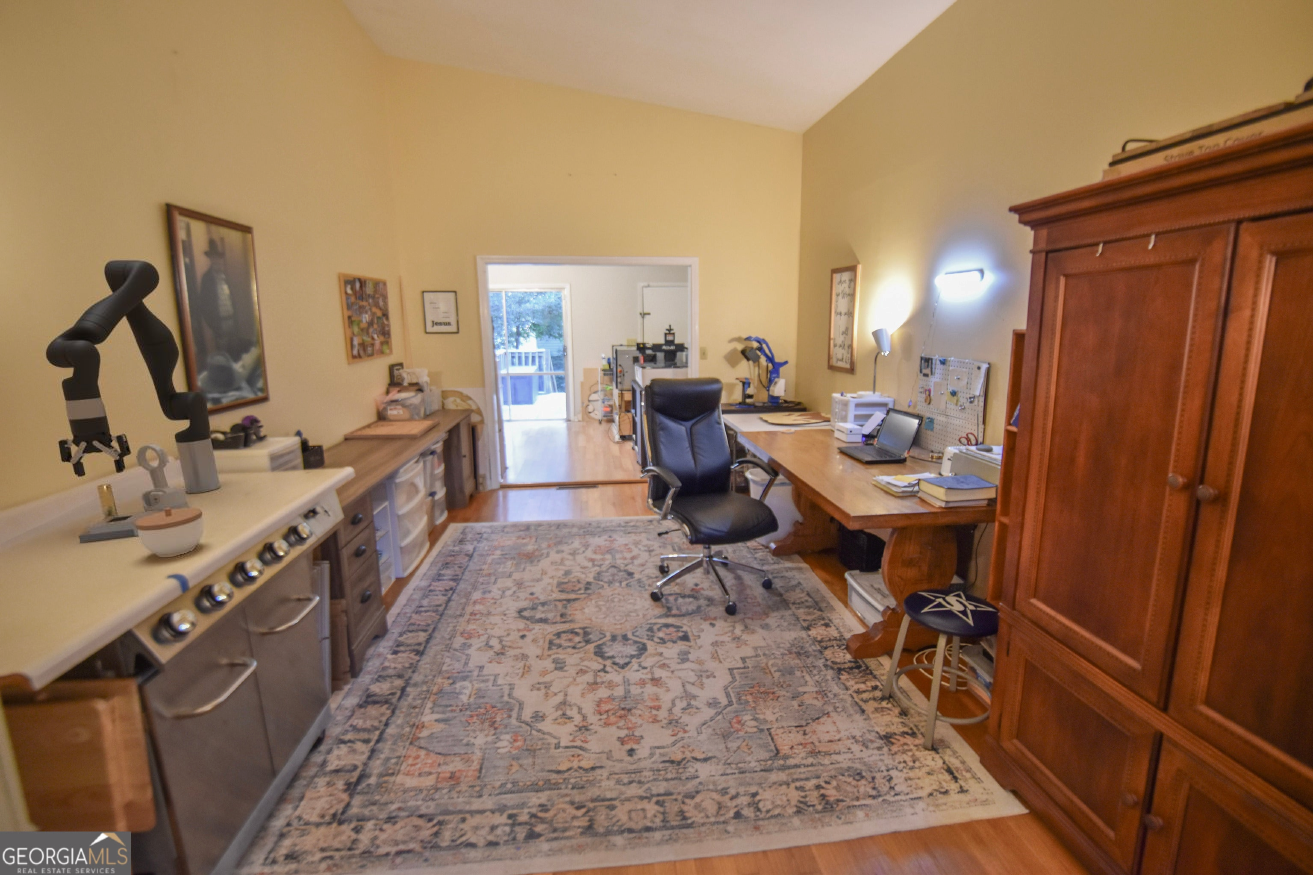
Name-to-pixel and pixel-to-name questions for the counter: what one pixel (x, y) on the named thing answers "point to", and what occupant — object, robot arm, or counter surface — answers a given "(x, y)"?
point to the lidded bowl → (171, 531)
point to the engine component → (159, 483)
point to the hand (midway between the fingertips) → (101, 474)
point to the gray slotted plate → (115, 527)
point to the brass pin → (107, 500)
